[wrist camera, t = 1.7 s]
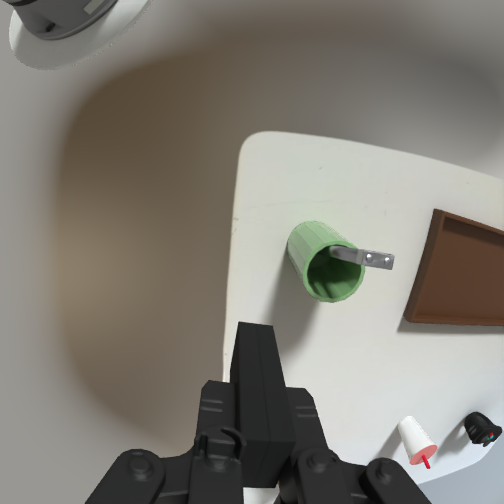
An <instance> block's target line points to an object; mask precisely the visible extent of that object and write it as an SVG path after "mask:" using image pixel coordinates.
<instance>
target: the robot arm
mask: <svg viewBox="0 0 504 504" xmlns="http://www.w3.org/2000/svg"><path fill="white" fill-rule="evenodd" d="M3 1H5V2H7V3H9V4H11V5H12V6H13V7H14V9H15V11H16V12H17V14H18V16H19V18H20V19H21V21H22V23H23V24H24V26H25V28H26V29H27V30H28V31H29V32H30V33H31V34H33V35H35V36H36V37H38V38H41V39H43V40H49V41H54V40H60V39H64V38H68V37H70V36H73V35H75V34H77V33H79V32H81V31H83V30H85V29H86V28H88V27H89V26H91V25H92V24H94V23H95V22H96V21H98V20H99V19H100V18H101V17H102V16H104V15H105V14H106V13H107V12H108V11H109V10H110V9H111V8H112V7H113V5H114V4H115V3H116V2H117V1H118V0H3ZM278 481H279V488H280V493H279V494H278V496H277V498H276V500H275V502H274V504H432V503H431V502H430V501H429V500H428V499H427V497H426V496H425V495H424V494H423V492H422V491H421V490H420V489H419V487H418V486H417V485H416V484H415V482H414V481H413V480H412V479H411V477H410V476H409V475H408V474H407V472H406V471H405V470H404V469H403V467H402V466H401V465H400V464H399V463H397V462H396V461H394V460H392V459H389V458H378V459H374V460H373V461H371V462H370V463H369V464H368V466H363V465H357V464H351V463H347V462H344V461H342V460H340V459H339V457H338V455H337V454H336V453H334V452H333V451H332V450H330V449H329V448H328V446H327V443H326V439H325V436H324V433H323V429H322V426H321V423H320V420H319V417H318V413H317V410H316V406H315V403H314V400H313V397H312V396H311V395H310V394H309V392H308V391H307V390H306V389H305V388H292V387H286V386H285V381H284V376H283V372H282V367H281V362H280V357H279V353H278V348H277V343H276V339H275V334H274V329H273V326H271V325H262V324H254V323H246V322H238V328H237V333H236V339H235V345H234V350H233V356H232V362H231V367H230V383H227V382H219V381H212V380H208V382H207V383H206V384H205V385H204V387H203V388H202V391H201V398H200V406H199V414H198V421H197V430H196V436H195V439H194V445H193V447H192V448H191V449H190V450H189V451H188V452H187V453H185V454H182V455H180V456H176V457H168V458H159V457H158V456H157V455H156V454H154V453H152V452H151V451H147V450H143V449H131V450H128V451H125V452H123V453H122V454H121V455H120V456H118V457H117V459H116V460H115V462H114V463H113V465H112V466H111V467H110V469H109V470H108V471H107V473H106V474H105V476H104V477H103V479H102V480H101V481H100V483H99V484H98V486H97V487H96V488H95V490H94V491H93V493H92V494H91V495H90V497H89V498H88V499H87V501H86V502H85V504H244V496H243V487H248V488H275V487H276V485H277V483H278Z"/></svg>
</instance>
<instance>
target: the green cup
mask: <svg viewBox="0 0 504 504" xmlns="http://www.w3.org/2000/svg"><path fill="white" fill-rule="evenodd" d="M331 245H334V246H341V247H348V248H355V249H358V248H357V247H356V246H354V245H353V244H352V243H350V242H349V241H348V240H346V239H345V238H344V237H342V236H341V235H340V234H338V233H337V232H336V231H334V230H333V229H332V228H330V227H329V226H327V225H326V224H324V223H322V222H319V221H308V222H304V223H302V224H300V225H299V226H297V227H296V228H295V229H294V230H293V231H292V233H291V235H290V236H289V239H288V243H287V250H288V255H289V258H290V260H291V262H292V264H293V265H294V267H295V269H296V271H297V273H298V275H299V277H300V279H301V281H302V283H303V284H304V286H305V288H306V289H307V291H308V292H309V294H310V295H311V296H312V297H314V298H316V299H318V300H319V301H322V302H330V303H334V302H337V301H341V300H344V299H346V298H348V297H349V296H350V295H352V294H353V293H354V292H355V291H356V290H357V289H358V287H359V286H360V284H361V283H362V280H363V277H364V273H365V266H363V265H359V264H356V263H353V262H349V261H345V260H342V259H338V258H334V257H330V256H326V255H322V254H318V253H317V252H319V251H320V250H322V249H323V248H324V247H327V246H331Z"/></svg>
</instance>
